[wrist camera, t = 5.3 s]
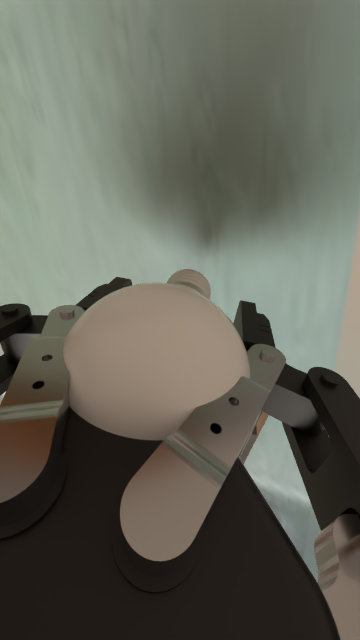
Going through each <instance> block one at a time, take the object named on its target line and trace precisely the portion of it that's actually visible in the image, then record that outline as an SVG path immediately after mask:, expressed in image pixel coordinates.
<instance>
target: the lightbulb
mask: <svg viewBox="0 0 360 640" xmlns="http://www.w3.org/2000/svg"><path fill="white" fill-rule="evenodd" d="M210 294H211V289H210V285H209V282H208V280H207V279H206V278H205V277H204V276H203V275H202V274H201V273H199V272H197V271H195V270H191V269H183V270H180V271H177V272H175V273H174V274H173V275H172V276H171V277H170V278H169V280H168V281H167V283H142V284H136V285H131V286H128V287H124V288H121V289H119V290H116V291H114V292H112V293H110V294H108V295H106V296H104V297H103V298H101V299H100V300H98V301H97V302H95V303H94V304H93V305H91V306H90V307H89V308H88V309H87V310H86V311H85V312H84V313H83V314H82V315H81V316H80V317H79V318H78V319H77V320H76V322H75V323H74V324H73V326H72V327H71V329H70V330H69V332H68V333H67V335H66V338H65V342H64V347H63V355H64V360H65V363H66V366H67V368H68V370H69V406H70V408H71V409H72V410H73V411H74V412H75V413H77V414H78V415H79V416H80V417H82V418H83V419H84V420H86V421H87V422H89V423H91V424H92V425H94V426H96V427H98V428H100V429H102V430H105V431H107V432H110V433H113V434H116V435H120V436H124V437H128V438H133V439H141V440H165V439H166V438H167V437H168V436H169V435H171V434H173V433H175V432H176V431H177V430H178V429H179V428H180V426H181V425H182V424H183V423H184V421H185V420H186V419H187V418H188V417H189V415H190V414H191V413H192V412H193V410H194V409H195V408H196V407H198V406H201V405H204V404H207V403H209V402H212V401H214V400H216V399H217V398H219V397H221V396H222V395H224V394H225V393H227V392H228V391H229V390H230V389H231V388H232V387H233V386H234V385H235V384H236V383H237V382H238V380H239V379H240V378H241V377H242V376H245V377H247V378H249V379H250V364H249V359H248V355H247V351H246V348H245V346H244V343H243V341H242V338H241V336H240V334H239V332H238V331H237V329H236V327H235V326H234V324H233V323H232V322H231V320H230V319H229V318H228V317H227V315H226V314H225V313H224V312H223V311H222V310H221V309H220V308H219V307H218V306H217V305H215V304H214V303H213V302H211V301H210V300H209V299H210Z"/></svg>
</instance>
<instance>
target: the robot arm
mask: <svg viewBox="0 0 360 640" xmlns="http://www.w3.org/2000/svg"><path fill="white" fill-rule="evenodd" d="M131 285H132V282H131V280H130V279H125V278H120V277H116V278H115V279H113V280H112V281H111V282H110V283H109V284H104V285H101V286H99V287H97V288H96V289H94V290H93V291H92V292H91V293H90V294H88V296H86V297H85V298H84V299H82V300H81V301H80V302H79V303H78V304H76V305H64V306H60V307H57V308H55V309H53V310H52V311H51V312H50V313H49V315H48V316H46V315H31V311H30V308H29V307H28V306H27V305H24V304H7V305H3V306H0V344H1V346H2V349H3V352H4V354H3V355H2V356H0V395H2V394H3V393H4V392H6V393H5V395H4V398H3V400H2V402H1V404H0V640H360V399H359V397H358V396H357V394H356V393H355V392H354V390H353V389H352V388H351V387H350V385H349V384H348V382H347V381H346V380H345V379H344V378H343V377H341V376H340V375H339V374H337V373H336V372H334V371H332V370H329V369H326V368H322V367H314V368H311V369H310V370H309V371H308V373H304V372H302V371H300V370H297V369H295V368H293V367H291V366H289V365H287V364H286V358H285V356H284V355H283V353H282V352H280V351H279V350H278V349H276V348H275V343H274V339H273V335H272V330H271V328H270V327H271V326H270V322H269V320H268V319H267V318H266V316H265V315H264V314H259V313H257V311H256V305H255V303H252V302H246V301H240V302H239V306H238V309H237V313H236V316H235V320H234V323H233V324H234V326H235V327H236V329H237V331H238V332H239V334H240V336H241V338H242V341H243V343H244V346H245V348H246V351H247V355H248V359H249V364H250V379H249V378H247V377H245V376H242V377H241V378H240V379H239V380H238V382H237V383H236V384H235V385H234V386H233V387H232V388H231V389H230V390H229V391H228V392H227V393H225V394H224V395H222V396H221V397H219V398H217V399H216V400H214V401H212V402H209V403H207V404H204V405H201V406H198V407H196V408H195V409H194V410H193V412H192V413H191V414H190V415H189V417H188V418H187V419H186V420H185V421H184V423H183V424H182V425H181V426H180V428H179V429H178V430H177V431H176V432H175V433H173V434H171V435H169V436H168V437H167V438H166V439H165V440H141V439H133V438H128V437H124V436H120V435H116V434H113V433H110V432H107V431H105V430H102V429H100V428H98V427H96V426H94V425H92V424H91V423H89V422H87V421H86V420H84V419H83V418H82V417H80V416H79V415H78V414H77V413H75V412H74V411H73V410H72V409H71V408H70V406H69V370H68V368H67V366H66V363H65V360H64V355H63V347H64V342H65V338H66V335H67V333H68V332H69V330H70V329H71V327H72V326H73V324H74V323H75V322H76V320H77V319H78V318H79V317H80V316H81V315H82V314H83V313H84V312H85V311H86V310H87V309H88V308H89V307H90V306H91V305H93V304H94V303H95V302H97V301H98V300H100V299H101V298H103V297H104V296H106V295H108V294H110V293H112V292H114V291H116V290H119V289H121V288H124V287H128V286H131ZM262 412H265V413H267V414H268V415H270V416H272V417H274V418H276V419H278V420H280V421H282V424H283V427H284V430H285V433H286V435H287V438H288V441H289V444H290V446H291V449H292V452H293V455H294V457H295V460H296V463H297V466H298V469H299V471H300V474H301V477H302V480H303V482H304V485H305V488H306V491H307V493H308V496H309V499H310V502H311V504H312V507H313V510H314V512H315V515H316V518H317V521H318V524H319V526H320V529H321V532H320V533H319V534H318V535H317V537H316V540H315V546H314V550H315V558H316V562H317V567H318V583H317V582H316V580H315V579H314V577H313V575H312V573H311V572H310V570H309V569H308V567H307V565H306V564H305V562H304V561H303V559H302V558H301V556H300V554H299V553H298V551H297V550H296V548H295V546H294V545H293V543H292V542H291V540H290V538H289V537H288V535H287V534H286V532H285V530H284V529H283V527H282V526H281V524H280V522H279V521H278V519H277V518H276V516H275V514H274V513H273V511H272V510H271V508H270V506H269V505H268V503H267V502H266V500H265V499H264V497H263V495H262V494H261V492H260V491H259V489H258V487H257V486H256V484H255V483H254V481H253V479H252V478H251V476H250V475H249V473H248V471H247V470H246V468H245V467H244V465H243V463H242V462H241V460H240V459H239V458H240V456H241V454H242V452H243V450H244V448H245V446H246V444H247V442H248V440H249V438H250V436H251V434H252V432H253V430H254V428H255V426H256V424H257V422H258V420H259V418H260V416H261V414H262ZM324 428H325V429H324Z"/></svg>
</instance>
